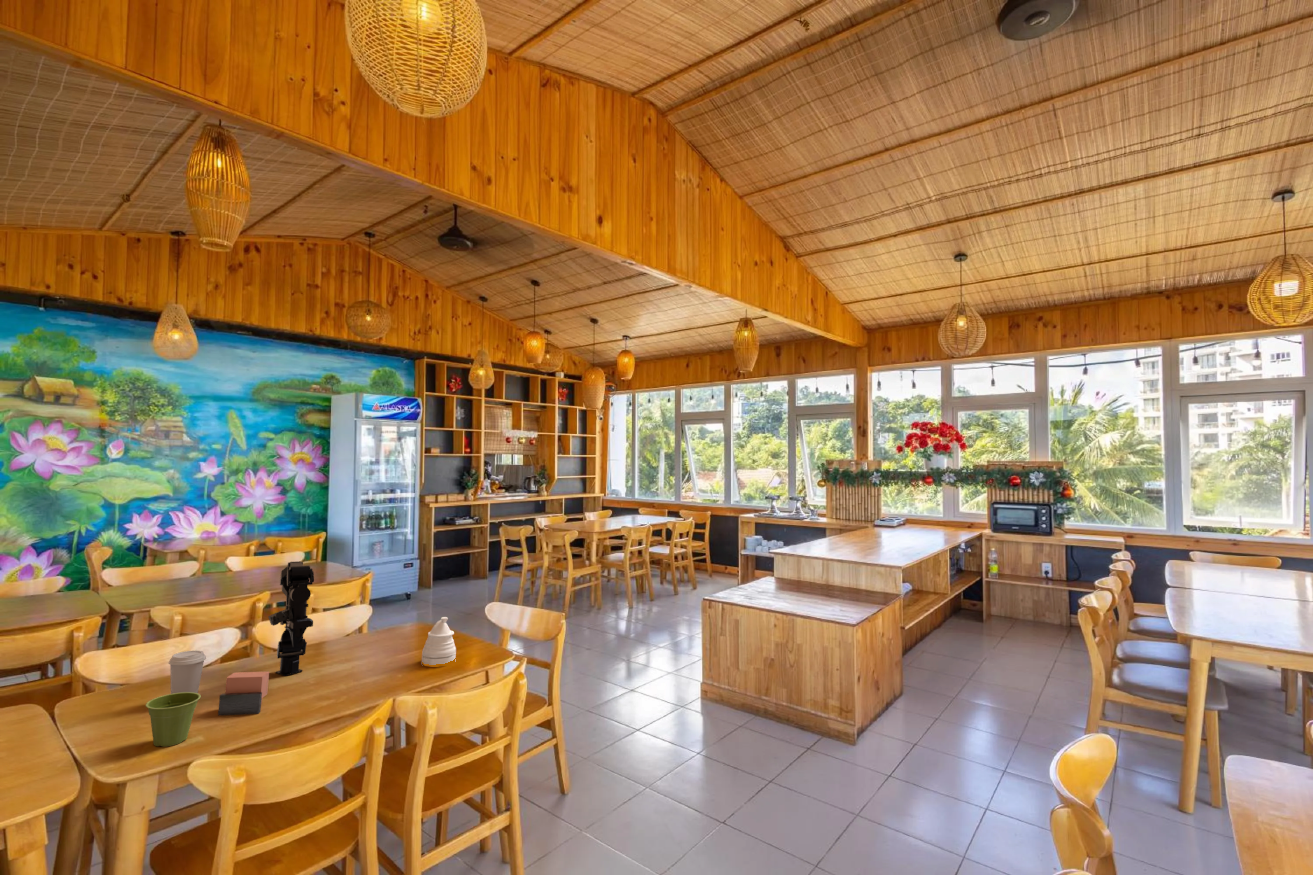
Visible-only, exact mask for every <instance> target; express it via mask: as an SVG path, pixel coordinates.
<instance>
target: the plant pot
mask: <svg viewBox="0 0 1313 875" xmlns="http://www.w3.org/2000/svg"><path fill="white" fill-rule="evenodd" d="M200 699H201V694H200V693H199V692H198V693H194V692H181V693H173V694H171V693H170V694H164V695H161V696H158V697H155V698H153V699H150V700H149V701H147V702H146V703H145V707H146V708H147V711H148V714H149V717H150V718H149V719H150V725H151V733H152V734H151V735H152V741H153V742H152V743H153V745H154V746H155V747H160V746H161V747H165V748H166V747H171V746H175V745H179V744H181V743H182V742H183V741H186V740H187V738H188V736H189V731H190V729H191V724H192V721H193V716H194V714H195V710H196V708H197V705H198V701H199V700H200Z"/></svg>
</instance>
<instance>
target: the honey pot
mask: <svg viewBox="0 0 1313 875" xmlns="http://www.w3.org/2000/svg"><path fill="white" fill-rule="evenodd" d="M448 620H449V618H448V617H447V616H442V617H441V618H440V620H437V622H435V623H434V625H433V626H432V628H431V630H430V631H428V632H427V639H426V640H425V643H424V647H423V648H422V653H421V663H422V662H423V663H424V664H429V665H436V664H445V663H448V662H450V661H453V660H454V659H455V658H457V657H456V656H457V655H456V654H457V646H456V645H455V640H454V639H453V635H455V632H454V631H453V630H451V629H450V627H449V625H448V623H447V621H448ZM455 660H456V659H455Z"/></svg>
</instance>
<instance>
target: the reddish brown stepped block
mask: <svg viewBox="0 0 1313 875" xmlns="http://www.w3.org/2000/svg"><path fill="white" fill-rule="evenodd" d="M269 680H270V671H245V672H244V671H243V672H242V671H241V672H232V673H231V674H230V675H228V676H227V677H226V680H225V691H224V693H252V692H262V699H261V705H262V704H263V698H264V697H266V696H267V695H268V693H269V692H268V690H269Z"/></svg>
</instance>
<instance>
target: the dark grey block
mask: <svg viewBox="0 0 1313 875" xmlns="http://www.w3.org/2000/svg"><path fill="white" fill-rule="evenodd" d="M261 699H262V700H263V698H262V692H252V693H225V692H224V693H221V694H220V695H219V701H218V712H217V715H218V716H235V715H236V716H237V715H240V716H241V715H242V716H243V715H259V714H260V713H261V710H262V704H261Z"/></svg>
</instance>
